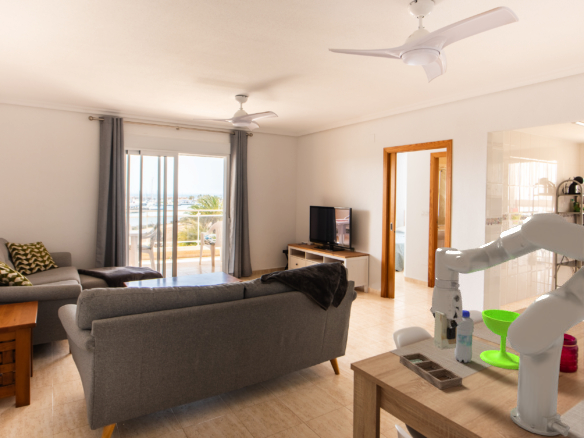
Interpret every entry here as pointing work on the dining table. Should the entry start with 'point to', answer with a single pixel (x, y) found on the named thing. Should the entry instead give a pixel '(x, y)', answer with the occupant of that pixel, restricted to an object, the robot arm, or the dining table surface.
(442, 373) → the notch rack
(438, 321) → the skincare box
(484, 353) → the wineglass
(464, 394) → the dining table surface
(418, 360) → the mat
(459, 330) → the bottle
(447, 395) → the dining table surface
